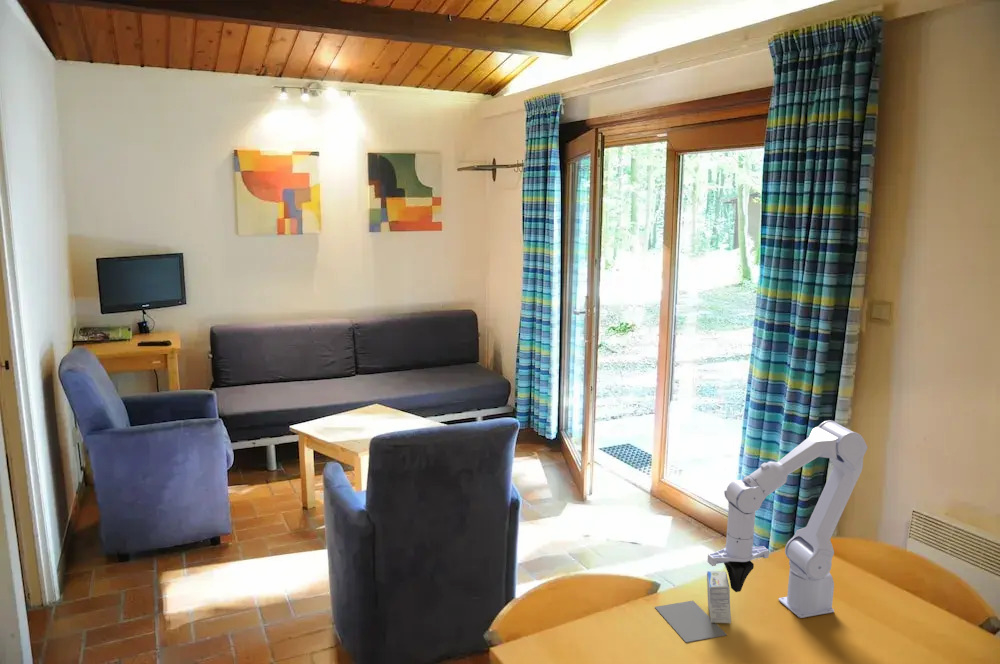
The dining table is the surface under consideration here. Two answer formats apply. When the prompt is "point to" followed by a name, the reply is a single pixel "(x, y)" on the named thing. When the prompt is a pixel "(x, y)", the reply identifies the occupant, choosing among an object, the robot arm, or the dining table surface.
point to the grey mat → (690, 621)
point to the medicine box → (718, 597)
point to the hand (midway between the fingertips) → (735, 589)
